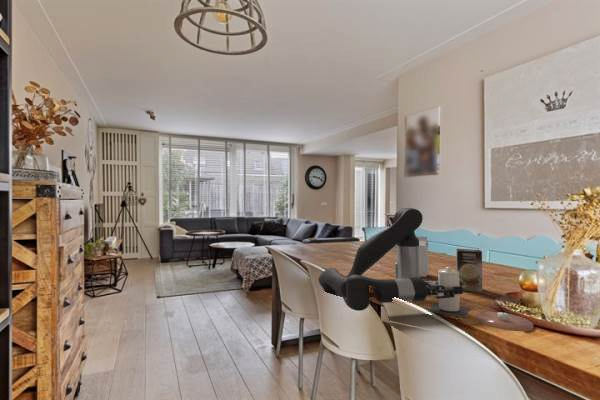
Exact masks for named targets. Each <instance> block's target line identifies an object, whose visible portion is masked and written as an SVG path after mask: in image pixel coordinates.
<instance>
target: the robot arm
mask: <svg viewBox="0 0 600 400" xmlns="http://www.w3.org/2000/svg"><path fill="white" fill-rule="evenodd" d="M422 223H423V214H422V212H421V211H420V210H418V209H417V208H413V207H411V208H410V207H409V208H408V207H404V208H403V207H402V208H400V209H398V210H396V212H395V213H394V217H393V223H392V224H391V225H390V226H389V227H387V228H386V229H384V230H382V231H380V232H378V233H376V234H373V235H372V236H371V237H370V238H368V239H367V240H366V241H364V242H363V243H362V244H360V246H359V247H358V248H357V250H356V253H355V257H354V261H353V264H352V267H351V269H350V271H349V272H348V274H347V275H345V274H342V273H340V272H339V270H337V269H336V268H335V267H329V268H327V269H325V270H324V271H323V272H321V274H320V275H319V276H318V283H319V285H320V286H321V288H322V289H323V291H324V292H325V293H328V294H334V295H335V294H336V295H337V294H338V296H340V297H342V299H343V301H344V303H345V305H347V307H348V308H350V309H351V310H354V311H361V312H362V311H364V310H366V309H367V308H368V307H369V305H370V303H371V301H370V298H371V297H370V287H371V288H372V291H373V294H374V297H375V300H376V301H377V302H378V303H381V304H382V303H383V304H384V303H393V302H392V301H393V300H392V298H394V297H396V298H399V299H402V300H404V301H407V302H406V303H417V302H418V303H420V302H424V301H425V300H426V298H427V297H431V298H432V297H433V298H434V297H436V299H438V300H439V299H442V298H453V297H454V294H460V295H462V294H464V291H463V287H461V286H459V287H445V286H444V285H439V284H438V280H433V279H423V278H421V276H420V258H419V239H418V238H417V237H418V236H417V237H416V234H415V231H416V230H417V229H418V228H420V227H421V225H422ZM395 246H396V262H395V264H394V266H395V268H394V270H395V271H394V273H395V274H394V275H395V276H394V277H395V278H391V279H390V278H389V279H386V278H385V279H384V278H383V279H382V278H381V279H380V278H379V279H377V278H371V277H368V276H364V275H363V274H364V273H365V272H367V271H368V270H369V269H370V268H371V267H373V266H374V265H375V264H376V263H378V262H379V261H380V260H381V259H382V258H384V257H385V255H386V254H388V253H389V252H390V251H391V250H393V248H394V247H395ZM440 287H441V289H440Z"/></svg>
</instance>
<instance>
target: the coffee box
mask: <svg viewBox="0 0 600 400" xmlns="http://www.w3.org/2000/svg"><path fill="white" fill-rule="evenodd" d="M455 256H456V258H455V260H456V261H455V262H456V271H459V286H461V287H463V292H473V293H474V292H476V293H483V251H482V250H480V249H469V248H467V249H466V248H456V255H455Z"/></svg>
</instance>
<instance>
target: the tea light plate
mask: <svg viewBox="0 0 600 400" xmlns="http://www.w3.org/2000/svg"><path fill="white" fill-rule="evenodd" d="M475 318H476V320H477V321H478V322H479V323H482V324H483V325H486V326H489V327H493V328H496V329H500V330H507V331H518V332H519V331H523V332H524V333H527V332H531V331H533V330H534V323H533V322H532V321H531V320H529V319H527V318H524V317H522V316H518V315H515V314H511V313H508V312H505V311H502V312H501V311H499V312H497V311H482V312H479V313H477V314H476V315H475Z"/></svg>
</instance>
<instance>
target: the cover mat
mask: <svg viewBox="0 0 600 400" xmlns="http://www.w3.org/2000/svg"><path fill="white" fill-rule="evenodd" d="M471 309H472V308H471V307H465V306H460V310H459V311H446V310H442V309H440V308H439V302H434V303H433V304H432V305H431V306H430V307H429V308H428V309H427V310H428V311H427V312H429V311H430V313H436V314H441V315H446V316H450V317H451V316H452V317H458V318H463V319H466V318H467V316H468V314H469V312H470V310H471Z"/></svg>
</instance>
